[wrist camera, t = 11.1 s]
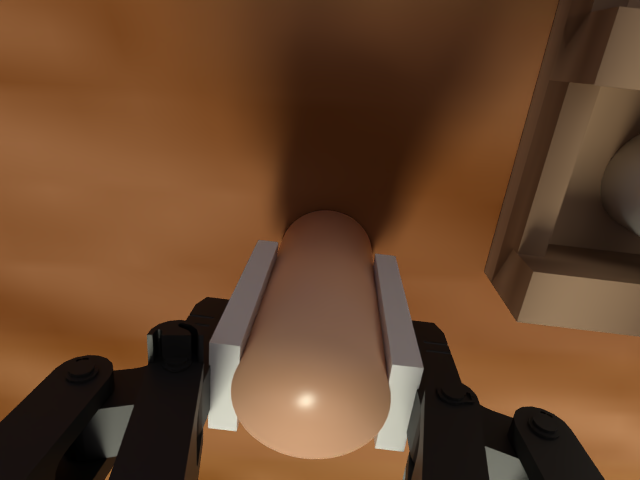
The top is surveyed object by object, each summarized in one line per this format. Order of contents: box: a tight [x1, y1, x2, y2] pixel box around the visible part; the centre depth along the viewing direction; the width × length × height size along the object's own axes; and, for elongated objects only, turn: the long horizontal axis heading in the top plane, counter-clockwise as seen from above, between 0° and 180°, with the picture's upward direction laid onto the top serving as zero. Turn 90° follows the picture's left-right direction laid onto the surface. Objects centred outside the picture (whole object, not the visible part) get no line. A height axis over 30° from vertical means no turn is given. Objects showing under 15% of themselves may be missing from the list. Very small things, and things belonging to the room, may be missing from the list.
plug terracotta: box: [231, 210, 391, 459], centre depth 15 cm, size 4×4×9 cm
